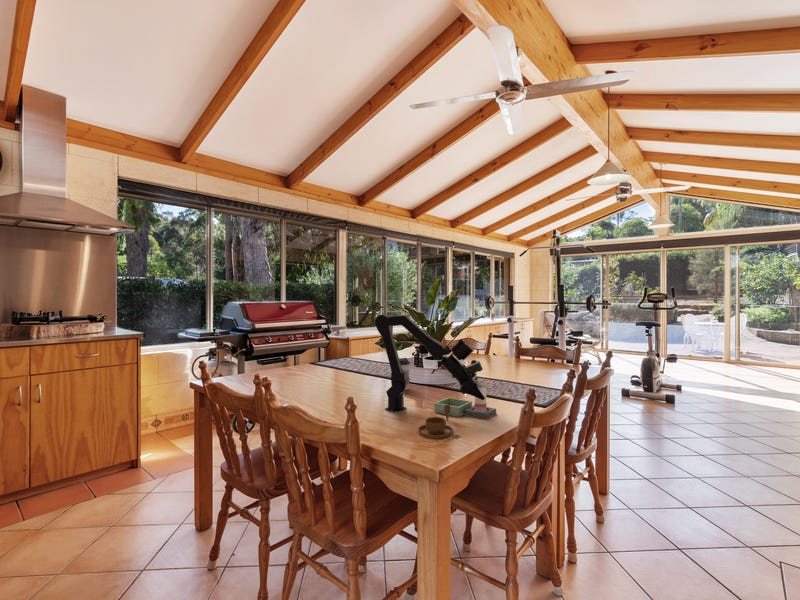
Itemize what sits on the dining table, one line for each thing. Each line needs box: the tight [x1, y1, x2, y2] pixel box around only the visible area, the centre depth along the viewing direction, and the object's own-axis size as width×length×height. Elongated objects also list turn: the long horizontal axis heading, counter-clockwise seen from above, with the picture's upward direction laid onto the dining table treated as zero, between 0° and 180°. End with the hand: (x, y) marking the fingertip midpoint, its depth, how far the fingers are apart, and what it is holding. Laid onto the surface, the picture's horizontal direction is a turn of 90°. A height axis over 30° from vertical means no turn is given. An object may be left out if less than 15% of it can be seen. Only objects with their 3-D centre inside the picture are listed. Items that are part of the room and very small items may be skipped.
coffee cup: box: [399, 357, 411, 391], centre depth 200 cm, size 9×9×15 cm
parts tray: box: [433, 397, 473, 418], centre depth 162 cm, size 11×11×4 cm
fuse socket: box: [464, 404, 497, 420], centre depth 157 cm, size 9×9×2 cm
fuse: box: [474, 379, 488, 412], centre depth 156 cm, size 5×5×13 cm
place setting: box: [417, 405, 461, 441], centre depth 140 cm, size 18×20×6 cm
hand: (484, 397), depth 156 cm, fingers closed on fuse, 4 cm apart
